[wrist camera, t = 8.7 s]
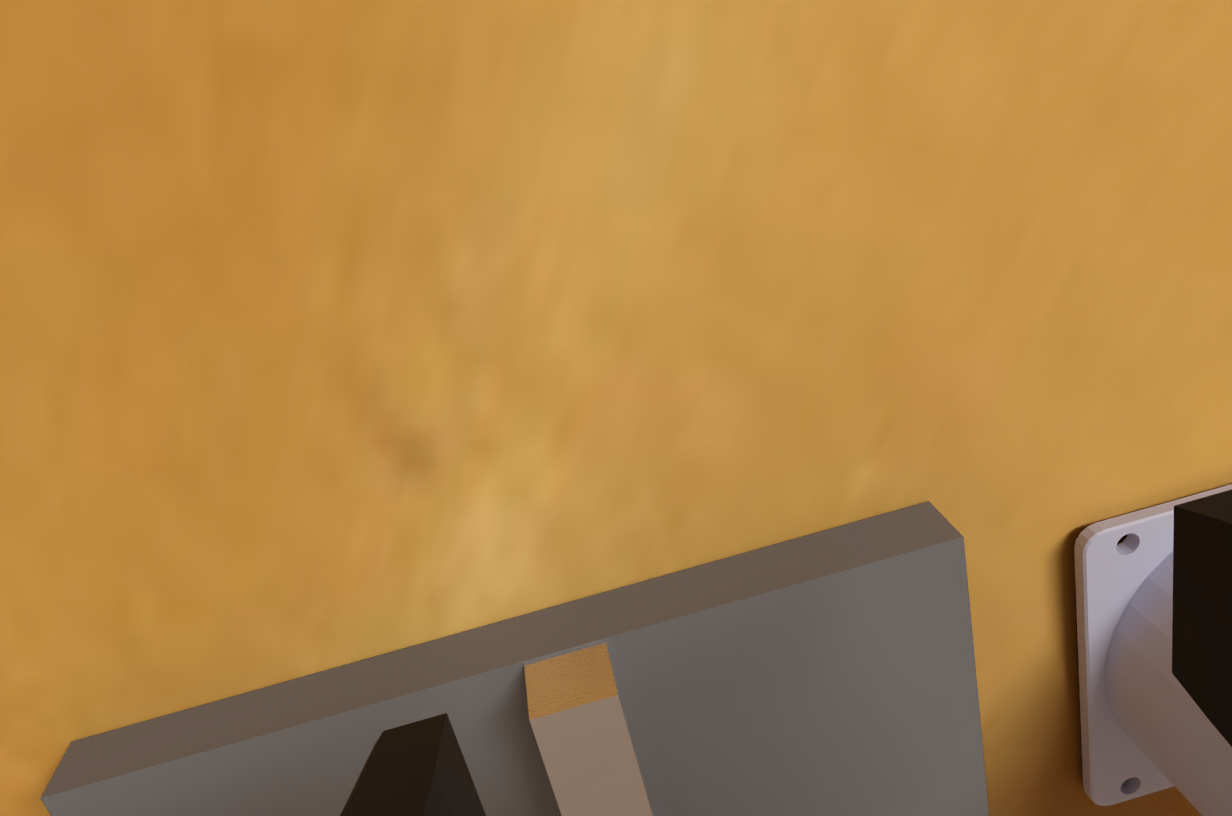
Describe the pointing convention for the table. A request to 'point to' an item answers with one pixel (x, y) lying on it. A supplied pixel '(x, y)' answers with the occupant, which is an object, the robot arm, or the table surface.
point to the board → (627, 697)
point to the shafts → (585, 734)
